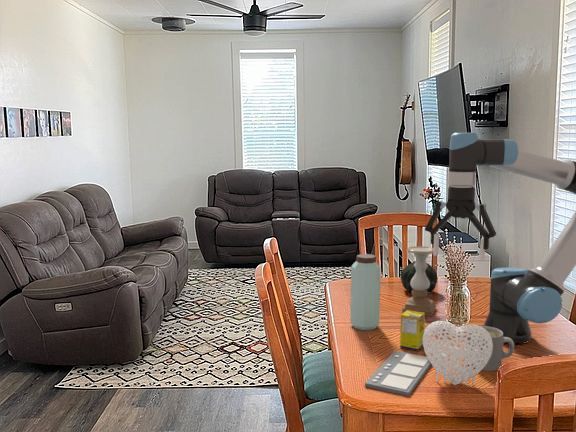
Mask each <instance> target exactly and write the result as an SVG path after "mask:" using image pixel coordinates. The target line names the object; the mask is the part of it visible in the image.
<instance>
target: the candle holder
mask: <svg viewBox="0 0 576 432" xmlns="http://www.w3.org/2000/svg"><path fill="white" fill-rule="evenodd" d="M433 251H434V247H431V246H424V245H423V246H422V245H421V246H419V245H418V246H417V245H414V246H409V247H407V252H408V253H411V254H413V256H414V257H415V259H416V260H415V261H416V262H415V264H414V267H415V269H416V273H415V275H414V276H413V278H412V279H411V282H410V285H411V287H412V288H413V290H412V292H411V297H409V298H408V299H407V300H406V302H405V304H403V307H402V309H401V310H402V312H401V313H402V314H403V313H404V312H405V311H407V310H410V311H416V312H422V313H425V317H433V316H434V313H435V311H436V306H437V305H436V303H435V302H434V300H433V299H429V298H428V296H429V293H428V292H427V290H426V289H428V288H429V287H430V281H429V279H428V278H427V276H426V274H425V270H426V268H427V267H428V265H427V263H428V262H427V261H426V260H427V258H428V257H429V255H433Z"/></svg>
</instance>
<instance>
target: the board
mask: <svg viewBox="0 0 576 432" xmlns="http://www.w3.org/2000/svg"><path fill="white" fill-rule="evenodd" d="M431 366H432V364H431V363H430V361H429V359H428V357H427V355H421V354H417V353H416V354H415V353H411V352H406V351H400V350H394V351H393V352H392V353H391V354H390V355H389V357H387V359H385V361H384V362H383V363H382V364H381V365H380V366H379V367H378V369H376V370H375V372H373V374H372V375H371V376H370V377H369V378H368V379H367V380H366V381H365V382H364V387H365V388H371V389H373V390H378V391H384V392H388V393H393V394H397V395H402V396H407V397H410V395H411V393H412V392H413V391H414V389H415V388H416V387H417V386H418V384H419V383H420V381H421V380H422V378H423V377H424V376H425V374H426V372H427V371H428V370H429V369H430V368H431Z"/></svg>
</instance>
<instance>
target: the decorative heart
mask: <svg viewBox="0 0 576 432" xmlns="http://www.w3.org/2000/svg"><path fill="white" fill-rule="evenodd" d="M481 326H482V325H478V324H474V323H473V324H465V325H461V326H457V325H455V324H453V323H451V322H449V321H445V320H435V321H433V322H430V323H429V324H428V325H427V326H426V327H425V328H424V334H423V350H424V353H425V356H427V357H428V359H429V361H430V363H431V366H432V368H434V369H435V370H436V372H435V374H436V375H435V383H438V382H439V375H441V376H442V377H443V382H444V383H445V384H447V381H448V382H450V384H452V385H454V386H457V385H460V384H462V383H464V386H465V385H467V386H468V381H469V380H470V379H472V380H471V386H472V385H474V386H475V379H476V378H475V377H476V375H478V374H479V373H480V372H481V371H482V369H483V368H484V367H485V365H486V364H487V362H488V361H489V359H490V357H491V354H492V349H493V343H492V338H491V336H490V334H489V333H488V331H487V330H486V329H484V328H483V327H481ZM468 328H469V329H468ZM475 329H476V330H475ZM479 330H480V331H479ZM476 332H477V333H478V334H476ZM469 333H472V335H470V334H469ZM480 333H481V334H482V335H481V334H480ZM483 335H484V336H483ZM436 336H437V337H436ZM474 336H476V337H475V338H476V339H475V338H473V337H474ZM479 336H480V338H479ZM468 337H471V340H467V338H468ZM481 337H482V338H481ZM483 339H484V340H485V341H483ZM488 339H489V340H488ZM472 340H474V341H473V342H472ZM478 340H479V343H478ZM486 341H487V344H486ZM469 342H470V345H469ZM473 343H474V344H473ZM483 343H484V344H485V345H484V346H483V345H482V344H483ZM452 344H453V345H452ZM475 344H476V346H475ZM458 345H459V346H458ZM472 345H473V346H474V347H472ZM479 345H480V347H479ZM486 346H488V348H487V347H486ZM466 347H468V348H466ZM489 347H490V348H489ZM476 348H477V349H476ZM481 348H483V350H481ZM471 349H473V350H471ZM479 353H480V354H479ZM481 353H482V354H481ZM477 354H478V356H477ZM487 354H488V355H487ZM449 355H450V356H449ZM486 355H487V356H486ZM478 357H479V358H478ZM483 357H484V358H483ZM466 358H467V359H466ZM478 361H480V362H479V363H478ZM482 361H483V362H482ZM467 362H468V363H467ZM481 362H482V363H481ZM473 363H474V365H473V366H471V365H472V364H473ZM468 365H469V366H468ZM474 367H475V369H474Z"/></svg>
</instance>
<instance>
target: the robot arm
mask: <svg viewBox="0 0 576 432" xmlns="http://www.w3.org/2000/svg"><path fill="white" fill-rule="evenodd" d="M448 158H449V161H448V162H449V163H448V164H449V166H448V185H449V187H448V188H447V202H445V201H443V200H439V201H437V202H436V205H435V210H434V211H433V213H432V215H431V217H430V219H428V220H429V221H428V222H427V224H426V226H425V227H424V231H425V232H429V233H430V245H433V248H434V251H433V254H432V256H435V257H437V256H438V255H440V254H439V251H440V250H439V249H440V233H439V232H438V231H439V230H440V229H441V228H442V227H443V225H445V224H446V223H447V222H448V220H449V219H451V218H452V217H453V218H454V219H458V218H460V219H463V220H464V219H468V220H469V221H470V222H471V224H473V226H474V227H475V228H476V230H477V231H478V233H479V234H480V235H481V236H482V237H481V238H480V242H479V243H480V246H479V247H480V250H479V262H483V261H485V259H486V254H485V253H486V250H488V249H489V248H490V247H489V246H490V238H494V237H495V236H496V235H497V232H496V229H495V228H494V225H493V223H492V221H491V219H490V216H489V214H488V212H487V205H486V203H481V204H476V201H475V198H476V188H475V187H474V186H476V175H477V166H485V167H490V168H494V169H497V170H500V171H504V172H507V173H512V174H516V175H519V176H523V177H526V178H530V179H531V178H532V179H535V180H538V181H542V182H546V183H549V184H553V185H555V187H556V188H557V189H559V190H563V191H566V192H568V193H571V194H573V195H576V161H574V160H571V159H566V160H563V161H562V160H558V159H555V158H552V157H548V156H544V155H541V154H537V153H533V152H529V151H525V150H523V149H522V150H521V149H519V145H518V144H517V142H516V141H515V140H514V139H509V138H496V139H494V138H479V137H478V134H477V132H454V133H453V132H452V134H451V136H450V140H449V157H448ZM444 208H446V209H447V211H448V212H447V213H446V214H445V215H444V216H443V217H442V219H441V220H439V221H438V223H436V221H437V219H438V217H439V215H440V214H441V212H442V210H443V209H444ZM476 209H477V212H479V214H480V216H481V219H482V220H483V223H484V225H485V226H483V224H482V223H481V222H480V220H479V219H478V218H477V216H476V215H475V213H474V211H475V210H476ZM435 223H436V224H435ZM434 224H435V226H434ZM485 227H486V228H485ZM486 229H487V230H486ZM575 267H576V211H575V212H574V214H573V215H572V217H570V219H569V221H568V222H567V224H566V225H565V226H564V227H563V229H562V230H561V232H560V234H559V235H558V237H557V238H556V240H555V241H554V242H553V244H552V245H551V247H550V248H549V249H548V251H547V252H546V254H545V255H544V256H543V258H542V260H541V261H540V262H539V264H538V265H537V266H536V267H533V268H529V269H527V268H523V267H497V268H494V269H493V270H491V276H490V288H489V289H490V291H489V309H488V314H487V316H486V318H485V321H484V322H483V325H482V326H489V327H493V328H497V329H499V330H501V331H502V332H503V337H508V338H511V339H512V340H513V342H514V345H517V344H516V343H523V344H525V343H524V342H527V341H529V340H530V339H531V340H532V331H531V327H530V326H531V325H530V322H531V323H535V324H545V323H548V322H551V321H553V320H554V319H555V318H556V317H558V315H560V312H561V311H562V308H563V303H562V302H563V298H562V295H563V294H564V293H565V286H564V283H565V282H566V280H567V279H568V277H569V276H570V274H571V273H572V271H574V268H575ZM531 340H530V341H531ZM530 341H529V342H530ZM507 343H508V342H505V343H504V344H507ZM527 343H528V342H527ZM508 345H509V343H508Z"/></svg>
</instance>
